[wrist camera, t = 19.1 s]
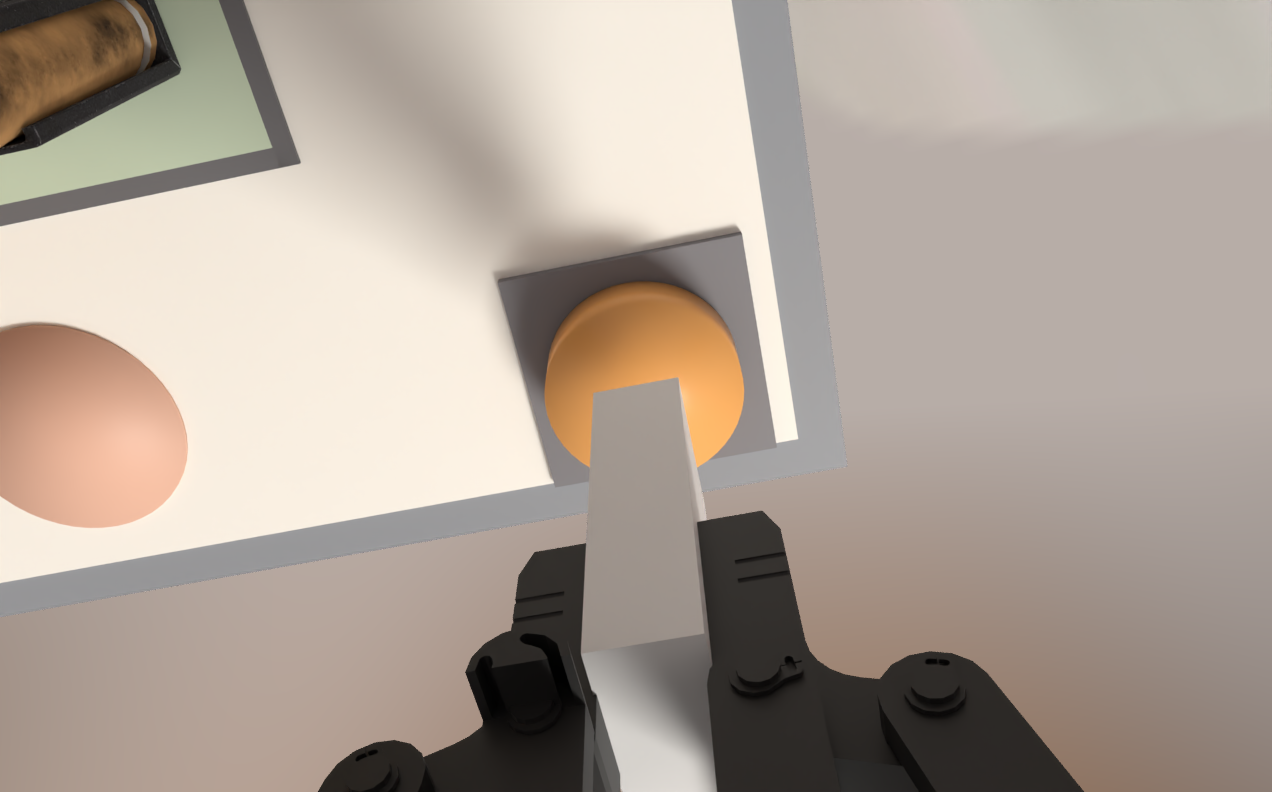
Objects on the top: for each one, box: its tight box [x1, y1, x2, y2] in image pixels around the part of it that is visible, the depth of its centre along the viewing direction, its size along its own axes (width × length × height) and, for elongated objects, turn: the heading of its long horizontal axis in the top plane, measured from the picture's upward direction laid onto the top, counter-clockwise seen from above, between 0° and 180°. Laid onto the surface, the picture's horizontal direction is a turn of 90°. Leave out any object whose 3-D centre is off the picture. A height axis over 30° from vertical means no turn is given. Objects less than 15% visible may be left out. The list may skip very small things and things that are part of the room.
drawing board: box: [0, 0, 847, 617], centre depth 22 cm, size 16×25×1 cm, turn 101°
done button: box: [544, 281, 744, 467], centre depth 22 cm, size 4×4×1 cm
